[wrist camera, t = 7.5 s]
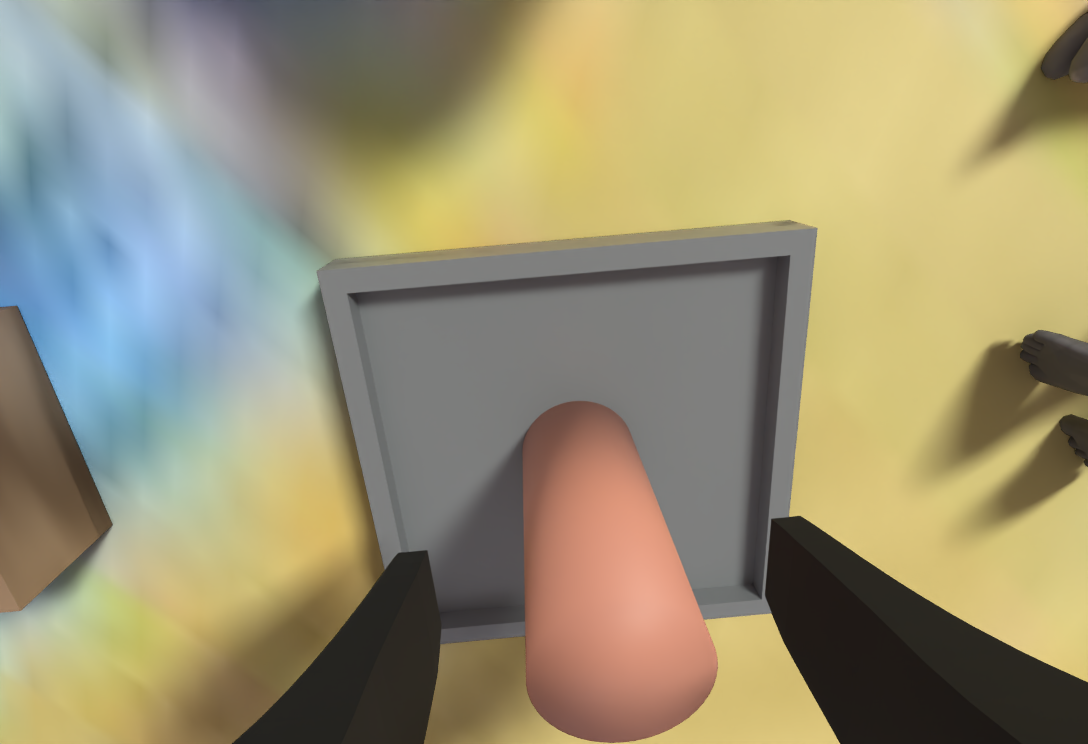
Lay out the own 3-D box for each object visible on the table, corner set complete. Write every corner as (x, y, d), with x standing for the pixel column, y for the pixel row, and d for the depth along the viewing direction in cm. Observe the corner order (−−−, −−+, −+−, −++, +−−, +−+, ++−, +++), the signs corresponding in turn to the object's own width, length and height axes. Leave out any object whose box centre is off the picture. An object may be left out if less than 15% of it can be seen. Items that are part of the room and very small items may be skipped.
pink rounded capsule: (633, 493, 17) (714, 733, 10) (527, 502, 17) (534, 750, 10) (631, 395, 16) (721, 592, 9) (516, 406, 16) (516, 611, 9)
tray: (760, 579, 19) (779, 612, 18) (410, 611, 19) (402, 647, 18) (789, 220, 15) (817, 228, 14) (335, 259, 15) (316, 270, 14)
